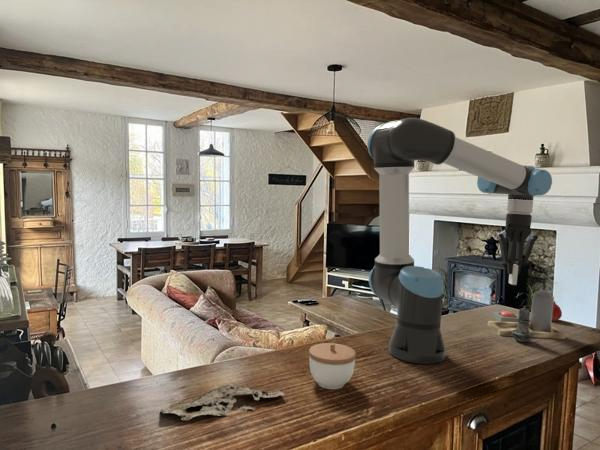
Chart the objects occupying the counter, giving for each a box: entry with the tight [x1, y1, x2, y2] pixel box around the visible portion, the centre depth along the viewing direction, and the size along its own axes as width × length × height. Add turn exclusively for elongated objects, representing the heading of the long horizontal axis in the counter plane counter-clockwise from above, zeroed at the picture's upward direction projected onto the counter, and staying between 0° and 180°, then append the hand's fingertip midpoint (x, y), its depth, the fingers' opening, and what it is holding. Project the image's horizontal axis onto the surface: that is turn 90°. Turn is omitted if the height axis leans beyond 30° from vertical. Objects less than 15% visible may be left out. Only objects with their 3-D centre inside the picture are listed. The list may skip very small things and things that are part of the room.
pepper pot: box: [529, 289, 555, 332], centre depth 145 cm, size 6×6×14 cm
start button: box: [500, 310, 516, 318], centre depth 157 cm, size 4×4×3 cm
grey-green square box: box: [493, 311, 519, 322], centre depth 157 cm, size 7×7×3 cm
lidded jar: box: [308, 342, 357, 390], centre depth 104 cm, size 11×11×9 cm
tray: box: [487, 320, 566, 340], centre depth 145 cm, size 20×10×2 cm, turn 87°
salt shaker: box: [512, 305, 533, 343], centre depth 136 cm, size 6×6×12 cm
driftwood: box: [159, 383, 286, 422], centre depth 92 cm, size 25×10×5 cm
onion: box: [552, 300, 563, 322], centre depth 160 cm, size 6×6×8 cm
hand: (512, 283), depth 150 cm, fingers closed
